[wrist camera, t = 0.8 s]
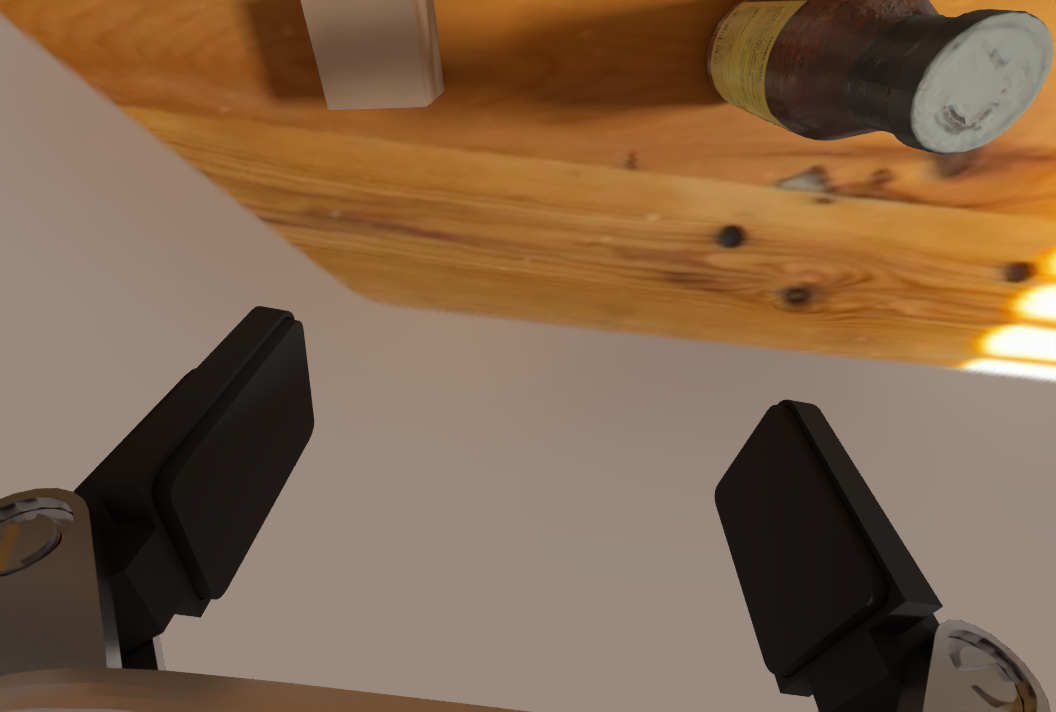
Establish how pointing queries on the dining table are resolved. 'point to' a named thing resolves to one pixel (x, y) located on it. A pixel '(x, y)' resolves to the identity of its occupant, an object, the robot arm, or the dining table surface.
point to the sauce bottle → (881, 69)
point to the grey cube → (375, 52)
